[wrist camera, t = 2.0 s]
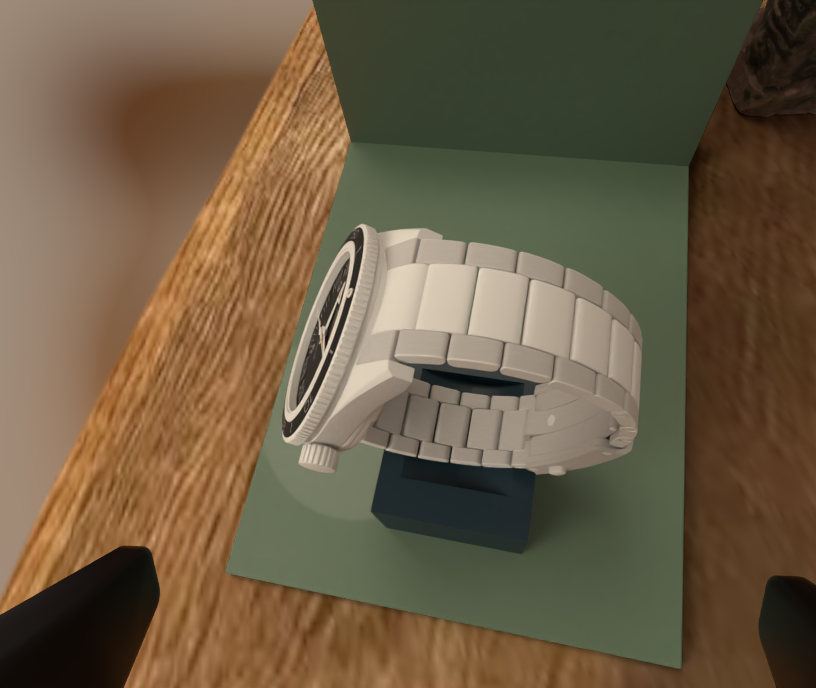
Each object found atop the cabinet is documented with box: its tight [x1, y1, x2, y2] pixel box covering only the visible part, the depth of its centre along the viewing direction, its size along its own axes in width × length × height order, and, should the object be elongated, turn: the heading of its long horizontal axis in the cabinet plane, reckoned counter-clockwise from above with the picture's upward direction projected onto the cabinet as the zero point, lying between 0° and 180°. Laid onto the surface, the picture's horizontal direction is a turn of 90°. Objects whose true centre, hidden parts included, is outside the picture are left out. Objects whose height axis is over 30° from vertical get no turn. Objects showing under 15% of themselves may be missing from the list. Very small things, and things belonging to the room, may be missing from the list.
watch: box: [282, 224, 643, 554], centre depth 16 cm, size 6×8×11 cm
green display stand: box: [225, 0, 763, 669], centre depth 19 cm, size 20×14×8 cm
